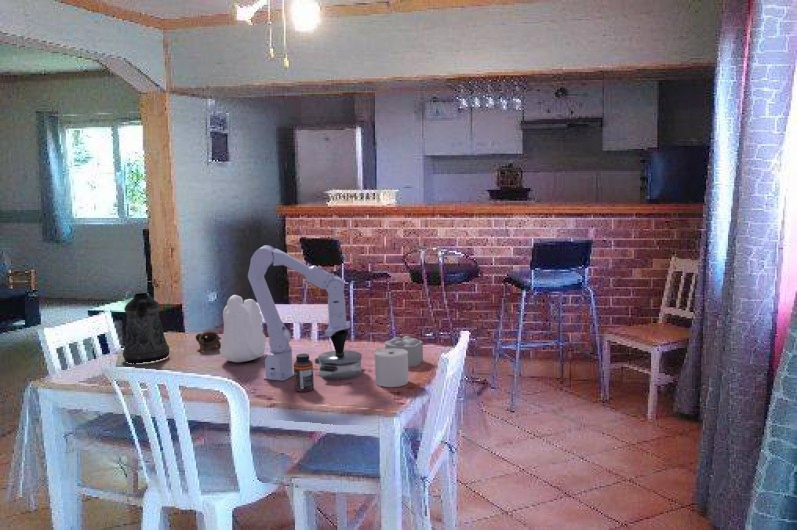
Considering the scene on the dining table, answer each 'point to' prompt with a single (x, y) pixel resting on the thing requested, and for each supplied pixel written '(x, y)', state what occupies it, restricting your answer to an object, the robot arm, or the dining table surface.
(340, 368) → the cooker pot
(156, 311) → the dark grey flared piece
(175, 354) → the dining table surface
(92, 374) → the dining table surface
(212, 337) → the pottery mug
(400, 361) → the toilet tissue
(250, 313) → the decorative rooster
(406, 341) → the grey lumpy container
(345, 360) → the cooker lid
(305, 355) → the supplement bottle
